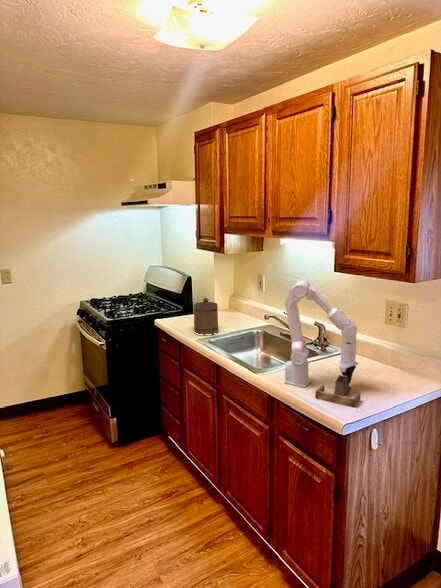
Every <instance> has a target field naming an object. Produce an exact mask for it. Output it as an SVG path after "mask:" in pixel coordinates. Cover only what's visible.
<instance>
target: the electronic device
mask: <svg viewBox="0 0 441 588" xmlns="http://www.w3.org/2000/svg"><path fill="white" fill-rule="evenodd" d="M334 382H335V384H334V385H335V386H334V391H333V394H336V395H341V396H345V397H347V395H348V394H349V392H350V391H351V390H352V387H351V386H350V383H349V379H348V376H345V375H342V374H339V375H338V377H337V378H336V380H335V381H334Z"/></svg>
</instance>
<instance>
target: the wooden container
mask: <svg viewBox="0 0 441 588" xmlns="http://www.w3.org/2000/svg"><path fill="white" fill-rule="evenodd" d="M218 309H219V308H218V303H216V302H213V301H212V302H211V301H209V299H208V298H207V297H205V298H203V299H202V301H201V302H197V303H194V305H193V327H194V328H193V331H195V332H196V333H198V334H214V333H217V332H218V333H219V318H218V316H219V315H218V313H219V311H218ZM218 333H217V334H218Z"/></svg>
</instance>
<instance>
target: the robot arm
mask: <svg viewBox="0 0 441 588" xmlns="http://www.w3.org/2000/svg"><path fill="white" fill-rule="evenodd" d="M305 297H306V298H305ZM304 298H305V300H310V301H313V302H314V303H315V304H317V306H319V307H320V308H321V309H322V310H323V311H324V312H325V313H326V314H327V319H328V320H329V321H330V322H331V323H332V324H333V325H334V326H335V327H336V328H337V329H338V330H340V332H341V336H342V338H341V342H340V343H341V348H340V350H341V351H340V361H339V363H340V366H339V372H341V375H345V376H348V379H349V384H350V383H351V381H352V377H353V374H354V372H355V370H356V368H357V367H356V366H359V362H357V360H356V359H357V357H356V355H357V353H356V352H357V334H358V332H357V331H358V325H356V323H355V321H353V320H352V319H351V318H349V317H348V316H347V315H346V314H344V311H343V309H340V308H338V307H333V306H332V305H331V303H329V302H328V300H326V298H325V297H324V296H323V295H322V294H321V293H320V292H319V290H318V289H316V288H315V286H314V285H312V284H310V282H309V281H308V280H306V279H300V280H298V281H297V282H296V283H295V284H293V286H292V287H290V289H289V291H288V294H287V296H286V299H285V300H284V307H285V312H286V316H287V317H286V318H287V323H288V329H289V335H290V341H291V355H290V360H287V362H286V363H285V367H284V382H283V383H284V384H287V385H291V386H292V385H293V386H296V387H300V388H306V387H307V386H308V385H309V384H310V383H312V379H309V361H308V356H309V355H310V350H309V348H308V347H307V345H306V341H305V340H304V334H303V329H302V325H301V318H300V312H299V308H298V303H299V302H300V301H301V300H303V299H304Z"/></svg>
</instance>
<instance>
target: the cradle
mask: <svg viewBox="0 0 441 588" xmlns="http://www.w3.org/2000/svg"><path fill="white" fill-rule="evenodd" d="M325 387H326V386H325V385H324V384H321V385H320V386H318V388H317V389H316V390H315V397H314V399H315V400H321V401H326V402H329V403H334V404H338V405H342V406H346V407H351V408H356V407H357V406H358V405H359V403H360V401H361V393H360V392H356V394H355V395H354V396H353V397H348V396H346V397H345V396H341V395H336V394H334V393H330V392H327V391H325Z"/></svg>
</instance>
